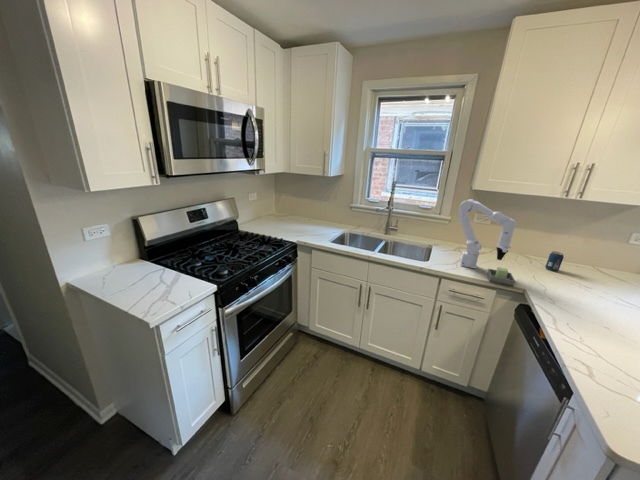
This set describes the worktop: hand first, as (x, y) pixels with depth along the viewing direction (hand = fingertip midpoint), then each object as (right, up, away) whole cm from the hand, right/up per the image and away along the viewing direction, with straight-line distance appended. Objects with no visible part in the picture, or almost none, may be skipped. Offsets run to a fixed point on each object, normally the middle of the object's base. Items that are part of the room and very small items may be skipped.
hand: (499, 259), depth 163 cm
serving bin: (-4, -12, -5) cm, 13 cm away
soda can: (+43, -8, +13) cm, 46 cm away
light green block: (-3, -11, -6) cm, 13 cm away
